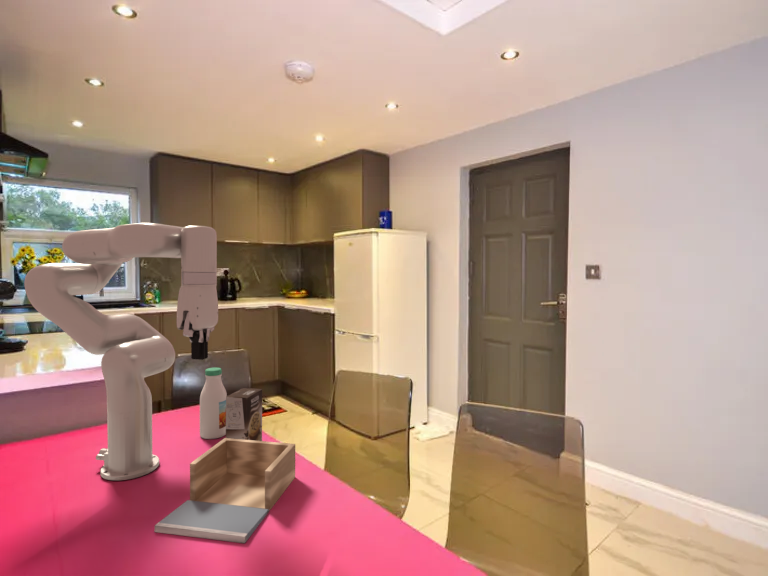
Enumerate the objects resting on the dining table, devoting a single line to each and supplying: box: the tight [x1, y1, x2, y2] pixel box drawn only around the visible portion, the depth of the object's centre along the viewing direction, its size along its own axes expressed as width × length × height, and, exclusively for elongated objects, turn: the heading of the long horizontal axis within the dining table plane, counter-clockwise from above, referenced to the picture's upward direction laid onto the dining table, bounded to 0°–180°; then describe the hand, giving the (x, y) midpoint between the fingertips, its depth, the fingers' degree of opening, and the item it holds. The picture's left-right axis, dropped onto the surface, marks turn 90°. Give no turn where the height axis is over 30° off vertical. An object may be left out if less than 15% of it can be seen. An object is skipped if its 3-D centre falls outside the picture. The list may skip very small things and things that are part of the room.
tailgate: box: [153, 499, 271, 544], centre depth 84 cm, size 18×1×11 cm
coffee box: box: [225, 387, 263, 441], centre depth 119 cm, size 9×6×16 cm
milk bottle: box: [199, 367, 228, 440], centre depth 129 cm, size 8×8×20 cm
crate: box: [189, 437, 296, 511], centre depth 97 cm, size 18×14×9 cm
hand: (199, 358), depth 100 cm, fingers closed
